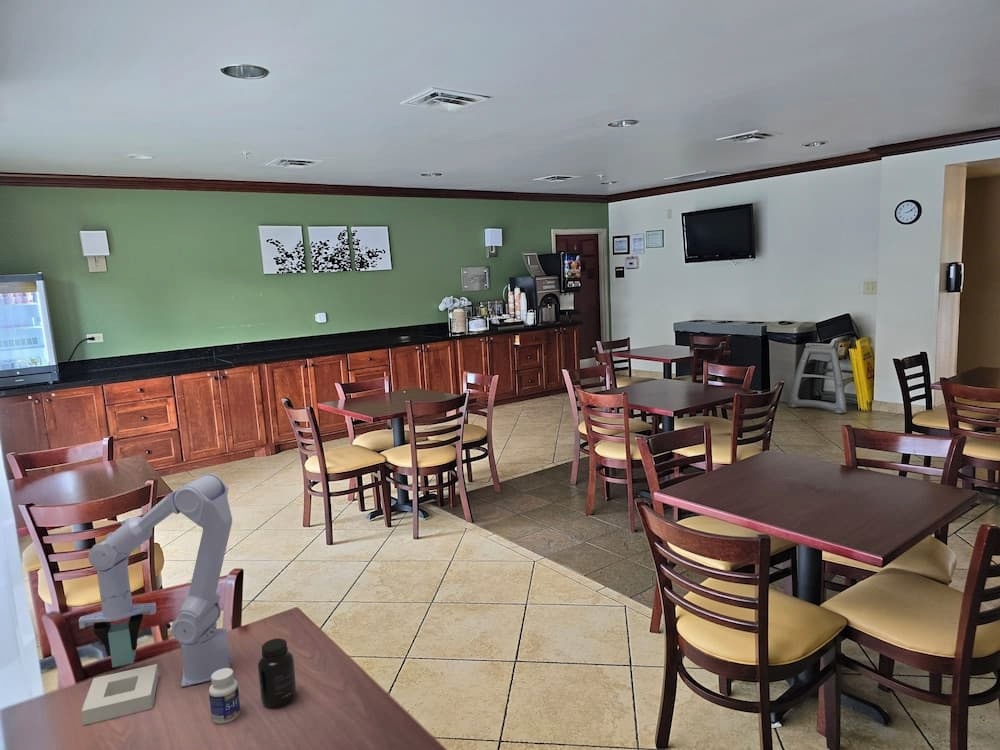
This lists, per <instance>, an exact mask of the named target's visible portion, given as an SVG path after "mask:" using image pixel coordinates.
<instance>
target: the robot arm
mask: <svg viewBox="0 0 1000 750" xmlns="http://www.w3.org/2000/svg"><path fill="white" fill-rule="evenodd" d="M228 494H229V487H228V486H227V485H226V483H225V482H224V481H223V480H222V479H221V477H219V475H216V474H214V473H204V474H202V475H200V477H199V478H197V479H195V480H193V481H191V482H189V483H187V484H185V485H182V486H180V487H179V488H178V489H176V490H175V491H173V492H171V493H169V494H167V495H165V496H164V497H163V498H162V499H161V500H160V501H159V502H158V503H157V504H155V505H154V506H153V507H151V509H149V510H148V511H147V512H146V513H145V514H143V516H142V517H141V516H132V517H131V518H129V517H127V518H125V519H123V521H121V522H120V525H121V526H120V527H118V528H117V529H116V530H114V531H111V532H108V533H107V534H106V536H105V539H104V540H103V541H101V542H99V543H96V544H94V545H92V548H91V549H90V550H89V552H88V556H87V557H88V563H89V564H90V565H91V566H92V567H93V568H94V569H95V570H96V574H97V581H98V589H99V595H100V597H99V598H100V604H101V610H100V611H96V612H93V613H90V614H86V615H82V616H80V617H79V619H78V626H79V629H80V630H81V629H85V628H87V627H89V626H93V631H92V632H93V634H94V635H95V636H96V637H97V638H98V639H99V640H100V642H101V643H102V644H103V646H104V648H105V649H106V652H107V655H108V656H111V653H110V645H109V638H108V631H109V629H110V626H111V625H112V624H111V622H116V621H121V620H125V619H129V623H128V625H129V629H130V633H131V643H132V650H135V651H136V650H137V648H138V636H139V631H140V628H141V627H140V626H141V624H142V622H143V618H144V616H145V615H151V616H152V615H155V614H156V613H157V604H156V602H149V603H133V598H132V590H131V583H130V577H129V567H128V566H129V558H130V556H131V555H132V553H133V552H134V551H135V550H137V549H138V548H139V547H141V545H143V544H145V543H146V542H147V541H148V540H149V539H150V538H151V537H152V535H153V528H155V527H156V526H157V525H159V524H160V523H161V522H163V521H164V520H165V519H166V518H168V517H169V516H170V515H172V514H173V513H174V514H175V515H179V514H182V515H184V517H186V518H188V519H189V520H190V521H192V522H193V523H195V524H196V525H198V526H199V527H201V528H202V532H201V533H202V534H201V537H200V541H199V547H198V550H197V551H198V552H197V556H196V560H195V564H194V568H193V573H192V577H191V583H190V587H189V591H188V596H187V597H186V599H185V601H184V602H183V604H182V606H181V608H180V609H179V613H178V616H177V618H175V619H174V620H173V622H172V624H171V633H172V634H171V635H172V636H173V637H174V639H175V640H176V641H177V642H178V643H179V645H180V646H181V647H180V648H181V656H182V657H181V658H182V666H183V670H182V671H183V672H182V677H181V678H182V679H181V687H182V688H185V687H189V686H193V685H197V684H202V683H205V682H209V681H210V682H211V675H212V674H213V673H214V672H215V671H217V670H220V669H223V668H230V669H231V662H232V656H231V655H232V654H231V652H230V647H229V646H230V645H229V638H228V637H229V636H228V629H226V628H222V629H220V628H219V629H218V628H217V626H218V625H217V621H219V619H220V617H221V613H222V610H221V606H220V599H221V595H219V594H218V593H217V589H218V584H219V581H220V576H221V572H222V567H223V563H224V560H225V555H226V550H227V546H228V541H229V537H230V533H231V529H232V525H233V517H232V512H231V509H230V503H229V500H228Z"/></svg>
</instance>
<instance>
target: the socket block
mask: <svg viewBox="0 0 1000 750" xmlns="http://www.w3.org/2000/svg"><path fill="white" fill-rule="evenodd" d="M158 677H160V675H159V669H158V664H157V663H156V664H155V663H154V664H151V665H147V666H143V667H138V668H133V669H132V668H131V669H128V670H125V671H119V672H115V673H110V674H106V675H101V676H98V677H97V676H96V677H93V679H92V682H91V684H90V687H89V689H88V692H87V694H86V698H85V701H84V703H83V705H82V709H81V712H80V713H81V718H82V725H83V726H87V725H90V724H93V723H99V722H102V721H103V722H104V721H107V720H111V719H115V718H118V717H119V718H120V717H124V716H127V715H131V714H132V715H133V714H136V713H139V712H144V711H148V710H152V709H153V707H154V702H155V695H156V692H157V687H158V681H159V678H158Z"/></svg>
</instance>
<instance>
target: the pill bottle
mask: <svg viewBox="0 0 1000 750" xmlns="http://www.w3.org/2000/svg"><path fill="white" fill-rule="evenodd" d="M210 682H211V685H210V686H209V688H208V698H209V707H210V708H209V709H210V717H211V721H212V722H213V723H214V724H220V725H221V724H227V723H230V722H232V721H234V720H236V719H237V718H238V717H239V715H240V714H241V703H240V693H239V683H238V681H237V680H236V679H235V676H234V670H233V669H232V668H231V667H230V668H223V669H220V670H217V671H215V672H214V673H213V674H212V675H211V680H210Z"/></svg>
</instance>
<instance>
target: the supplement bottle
mask: <svg viewBox="0 0 1000 750" xmlns="http://www.w3.org/2000/svg"><path fill="white" fill-rule="evenodd" d="M294 661H295V660H294V656H293V654H292V653H291V652H290V651H289V648H288V644H287V640H285V639H284V638H280V637H279V638H273V639H269V640H267V641H266V642H264V643H263V644H262V646H261V658H260V659H259V660H258V665H257V669H258V678H259V679H258V680H259V687H260V688H259V689H260V697H261V704H262V705H263V706H264V707H265V708H267V709H273V710H274V709H280V708H283V707H287V706H288V705H289V704H291V703H292V702H294V700H295V698H296V697H297V684H296V672H295V662H294Z"/></svg>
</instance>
